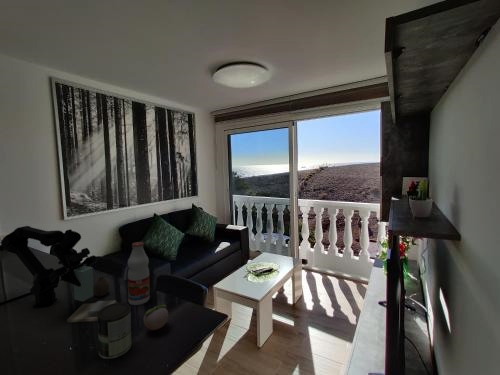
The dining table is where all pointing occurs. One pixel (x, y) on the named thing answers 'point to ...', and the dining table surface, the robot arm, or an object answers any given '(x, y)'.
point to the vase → (101, 287)
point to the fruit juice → (138, 275)
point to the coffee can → (114, 330)
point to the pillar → (84, 283)
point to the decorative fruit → (156, 317)
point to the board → (82, 314)
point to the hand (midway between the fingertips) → (85, 283)
